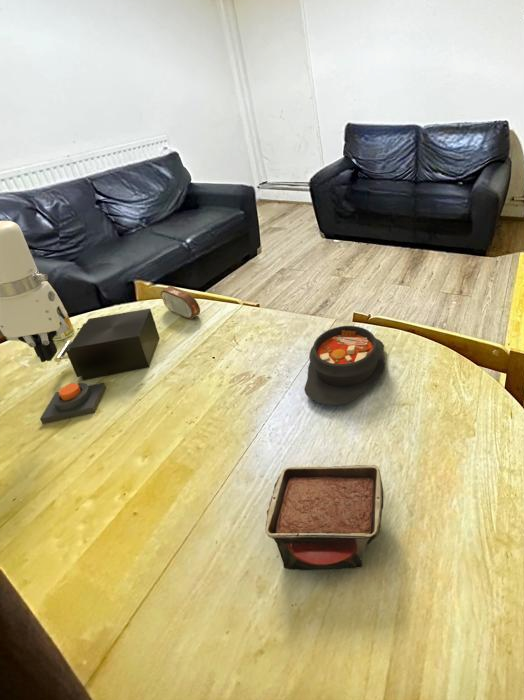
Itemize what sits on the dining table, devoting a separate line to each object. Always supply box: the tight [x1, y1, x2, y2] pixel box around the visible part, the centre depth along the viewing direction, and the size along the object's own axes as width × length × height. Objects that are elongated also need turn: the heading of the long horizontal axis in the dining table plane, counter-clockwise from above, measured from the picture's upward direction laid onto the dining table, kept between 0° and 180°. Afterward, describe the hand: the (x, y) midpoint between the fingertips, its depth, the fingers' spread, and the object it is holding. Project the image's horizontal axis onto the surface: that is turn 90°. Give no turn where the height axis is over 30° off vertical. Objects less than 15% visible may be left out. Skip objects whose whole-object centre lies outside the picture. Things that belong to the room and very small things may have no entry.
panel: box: [39, 382, 107, 425], centre depth 93 cm, size 10×8×4 cm
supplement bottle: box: [53, 311, 75, 341], centre depth 116 cm, size 5×5×10 cm
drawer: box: [54, 323, 86, 378], centre depth 105 cm, size 18×12×8 cm, turn 106°
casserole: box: [303, 325, 386, 406], centre depth 98 cm, size 25×19×8 cm
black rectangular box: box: [69, 308, 160, 382], centre depth 106 cm, size 15×13×10 cm
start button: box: [58, 382, 81, 401], centre depth 92 cm, size 4×4×2 cm
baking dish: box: [264, 464, 384, 571], centre depth 65 cm, size 14×18×10 cm
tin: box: [160, 285, 201, 320], centre depth 124 cm, size 15×3×8 cm, turn 59°
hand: (49, 357), depth 89 cm, fingers closed
